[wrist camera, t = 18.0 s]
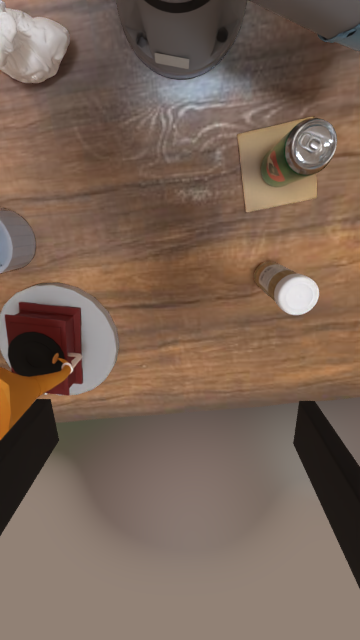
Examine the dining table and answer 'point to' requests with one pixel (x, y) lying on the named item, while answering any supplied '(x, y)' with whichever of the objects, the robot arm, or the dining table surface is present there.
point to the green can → (300, 153)
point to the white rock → (30, 45)
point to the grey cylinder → (15, 241)
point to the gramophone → (52, 346)
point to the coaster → (251, 158)
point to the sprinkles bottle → (287, 288)
